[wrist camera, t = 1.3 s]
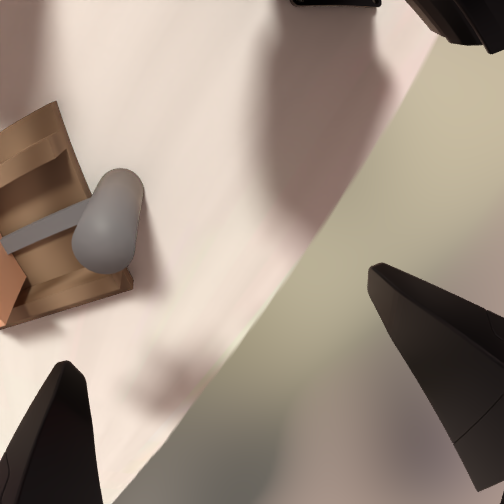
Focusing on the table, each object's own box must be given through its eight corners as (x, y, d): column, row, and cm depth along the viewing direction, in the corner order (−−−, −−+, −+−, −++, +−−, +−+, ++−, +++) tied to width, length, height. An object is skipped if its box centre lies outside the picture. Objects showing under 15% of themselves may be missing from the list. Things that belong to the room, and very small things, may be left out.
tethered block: (126, 139, 16) (105, 175, 11) (157, 223, 20) (156, 287, 15) (-52, 231, 15) (-92, 282, 10) (-16, 289, 18) (-43, 346, 13)
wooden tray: (56, 100, 14) (37, 107, 11) (133, 280, 22) (131, 308, 20) (-80, 195, 12) (-99, 213, 10) (-1, 323, 21) (-10, 347, 18)
